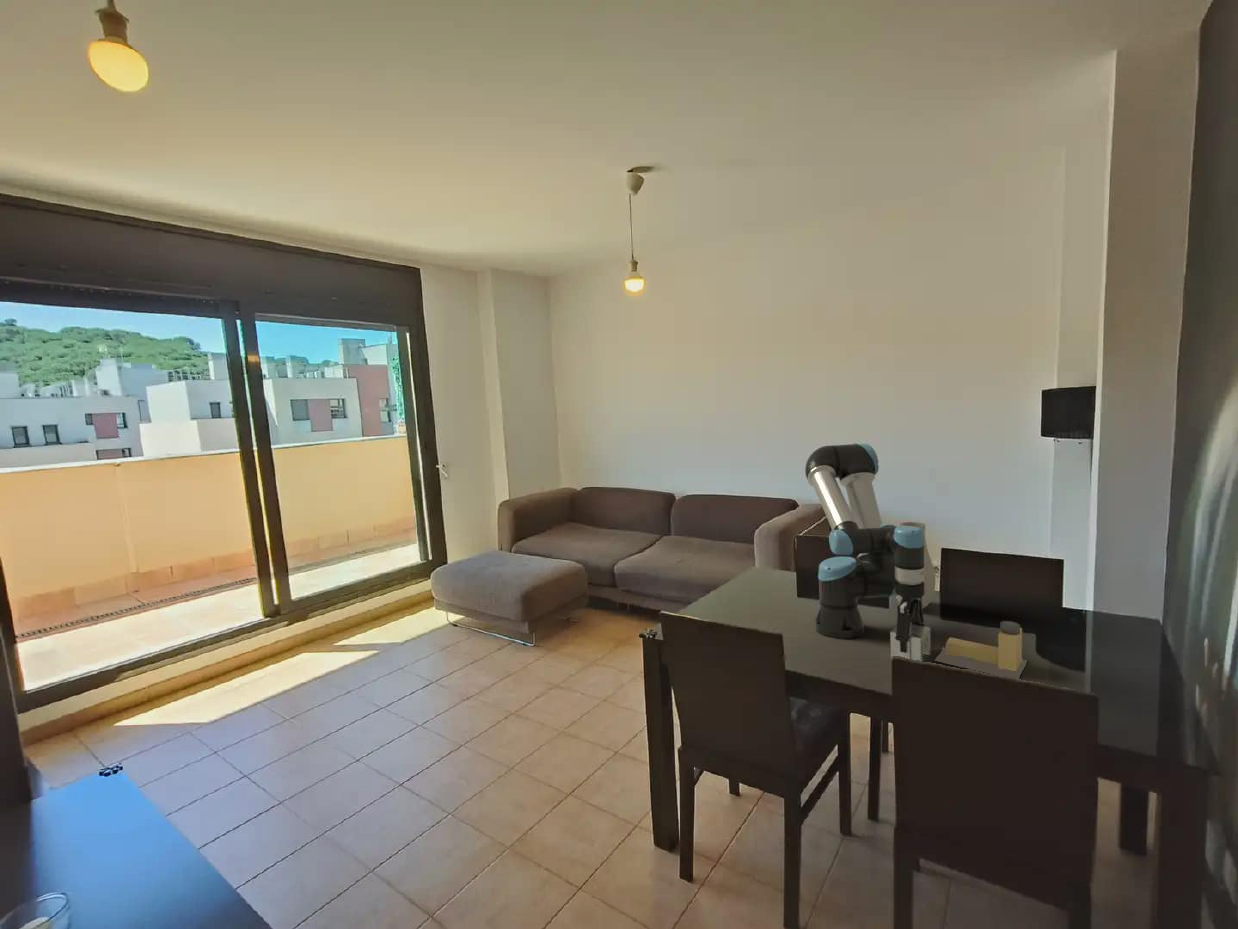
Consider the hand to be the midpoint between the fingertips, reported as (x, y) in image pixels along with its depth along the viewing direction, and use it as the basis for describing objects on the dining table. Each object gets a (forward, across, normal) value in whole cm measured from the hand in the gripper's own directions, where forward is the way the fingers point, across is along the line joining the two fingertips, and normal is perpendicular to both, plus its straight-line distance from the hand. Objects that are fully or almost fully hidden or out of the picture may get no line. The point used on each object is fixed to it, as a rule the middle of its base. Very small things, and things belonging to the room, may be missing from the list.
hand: (910, 655), depth 166 cm
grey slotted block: (0, 0, 0) cm, 0 cm away
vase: (0, +39, +11) cm, 41 cm away
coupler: (0, +7, -16) cm, 17 cm away
